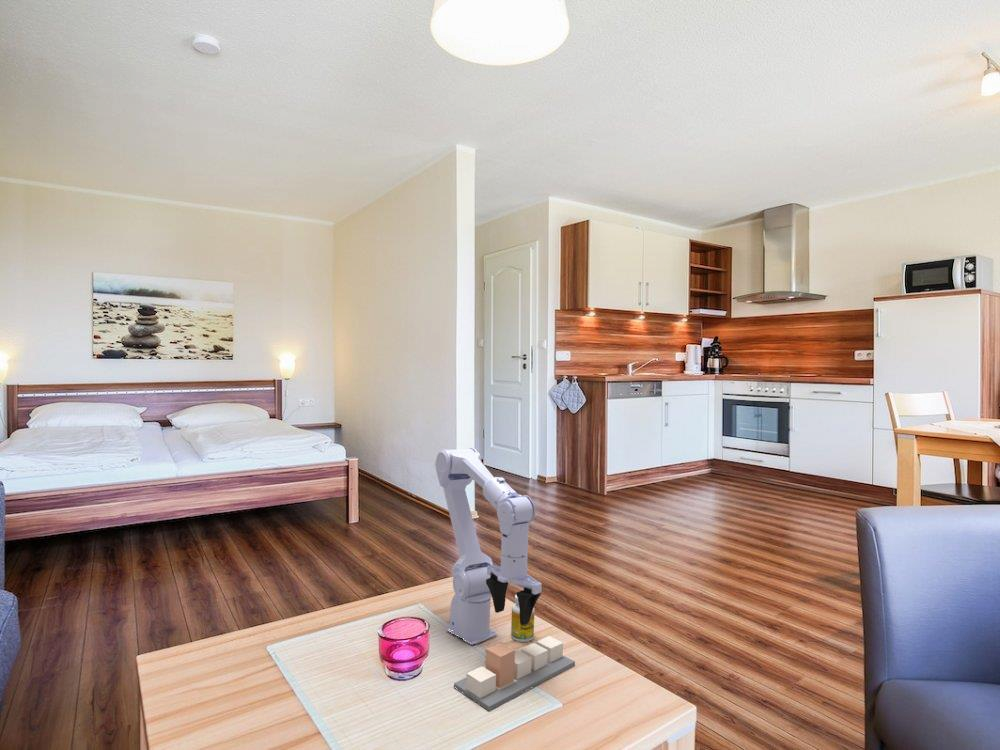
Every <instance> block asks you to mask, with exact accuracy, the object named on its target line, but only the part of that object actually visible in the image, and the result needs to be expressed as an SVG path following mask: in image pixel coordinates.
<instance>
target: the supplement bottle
mask: <svg viewBox="0 0 1000 750" xmlns="http://www.w3.org/2000/svg"><path fill="white" fill-rule="evenodd" d="M514 602H515V603H513V604H512V605H511V606H512V607H511V622H510V623H511V626H510V627H511V628H510V631H511V633H510V636H511V638H512V639H513V640H514V641H515V642H519V643H520V642H521V643H524V642H525V643H526V642H530V641H532V640H533V639H534V636H535V635H534V632H535V612H536V611H535V609H536V608H535V607H534V608H533V611H532V614H531V617H530V621H529V623H527V624H525V625H521V624H520V608H519V602H518V598H517V595H516V594H515V595H514Z"/></svg>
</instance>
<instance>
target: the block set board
mask: <svg viewBox="0 0 1000 750" xmlns="http://www.w3.org/2000/svg"><path fill="white" fill-rule="evenodd" d="M575 665H576V661H575V660H573V659H571V658H569V657H567V656H566V655H564V642H562V641H560V640H559V639H556V638H554V637H552V636H550V635H548V636H545V637H544V638H541V639H539V640H537V641H536V642H533V643H530V644H528V645H526V646H524V647H522V648H520V650H515V664H514V681H512V682H510V683H508V684H506V685H504V686H503V687H501V688H498V687H497V686H496V674H494V673H492V672H491V671H489V670H487V669H486V667H484V666H479V667H478V668H475V669H473V670H471V671H469V672H467V673H466V677H464V678H463V679H461V680H458V681H456V682H454V683H453V688H454V687H456V688H457V689H458V690H457V689H456V688H455V689H456V690H457V691H458V692H460V691H461V692H463V693H464V694H465V695H464V694H463V693H462V694H463V695H464V696H466V695H467V696H468V697H467V696H466V697H467V698H469V697H470V698H471V699H470V698H469V699H470V700H472V699H473V700H474V702H475V701H476V702H477V703H476V702H475V703H476V704H478V703H479V704H480V705H479V704H478V705H479V706H480V707H482V706H483V707H482V708H483V709H484V710H486V711H488V712H490V711H492V710H493V708H494V709H495V707H496V708H498V707H499V706H501V705H503V704H505V703H507V702H509V701H510V700H512V699H514V698H516V697H518V696H519V695H522V694H523V692H524V693H526V692H527V691H529V690H531V689H532V688H531V687H533V688H535V687H537V686H539V685H540V684H543V683H545V682H547V681H548V680H550V679H552V678H553V677H555V676H558V675H559V674H561V673H563V672H565V671H567V670H569V669H570V668H573V667H575ZM534 686H535V687H534ZM530 688H531V689H530ZM528 689H529V690H528ZM526 690H527V691H526ZM525 691H526V692H525ZM461 692H460V693H461ZM473 700H472V701H473Z"/></svg>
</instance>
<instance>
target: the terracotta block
mask: <svg viewBox="0 0 1000 750" xmlns="http://www.w3.org/2000/svg"><path fill="white" fill-rule="evenodd" d="M515 651H516V650H515V649H513V647H510V646H508V645H506V644H504V643H502V642H500V643H497V644H495V645H492V646H490V647H487V648H486V651H485V652H486V654H485V668H486V669H487V670H489V671H491V672H492V673H494V674H496V686H497V687H498V688H501V687H503V686H504V685H506V684H508V683H510V682H512V681H514V664H515Z"/></svg>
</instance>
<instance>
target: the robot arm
mask: <svg viewBox="0 0 1000 750" xmlns="http://www.w3.org/2000/svg"><path fill="white" fill-rule="evenodd" d="M435 459H436V460H435V463H434V466H435V470H436V476H437V479H438V483H439V486H440V487H442V488H443V492H444V496H445V500H446V501H445V502H446V505H447V509H448V513H449V517H450V522H451V526H452V531H453V534H454V535H453V536H454V539H455V543H456V547H457V551H458V555H459V558H458V559H457V561H456V562H455V563H454V564H453V566H452V568H451V572H452V588H453V592H454V595H453V596H452V599H451V600H450V611H449V627H448V628H446V631H447V630H449V629H450V630H449V631H451V630H453V631H451V632H452V633H454V634H456V635H458V636H459V637H461V638H464V640H466V641H468V642H469V643H471V644H475V645H477V644H479V643H481V642H484V641H487V640H489V639H491V638H493V637H496V636H498V632H496V631H495V630H492V629H490V628H491V627H490V626H491V624H490V623H491V622H490V621H491V602H492V603H493V607H494V612H495V613H496V614H498V613H501V612H503V611H504V610H505V608H506V607H505V606H506V597H507V595H506V593H507V589H508V585H509V584H513V585H515V586H517V587H520V588H522V589H523V590H520V591H516V593H515V595H517V598H518V602H519V608H520V624H521V625H525V624H527V623H529V621H530V617H531V614H532V611H533V608H534V609H535V605H536V603H537V602H538V599H539V598H540V597H541V596H542V588H543V587H542V582H540V581H538V580H537V579H535V578H534V577H533V576H531V575H530V574H529V573H528V557H529V556H528V555H529V535H530V534H529V533H530V532H529V528H530V523H532V522H533V521H534V519H535V516H536V506H535V503H534V502H533V500H532V499H531V497H530V495H525V494H524V495H521V494H519V493H518V492H516V491H515V489H513V488H512V487H511V486H510V484H508V483H507V482H506V479H505V478H504V477H501V476H500V477H499V476H494V475H493V474H492V473H491V472H490V471H489V470H488V468H487V467H486V466H485V465H484V463H483V461H482V456H481V454H480V452H479V451H477V449H476V448H475V447H469V448H458V449H456V448H455V449H440V450H439V452H438V453H437V455H436V458H435ZM473 481H474V482H476V483H477V484H478V485H479V486H480V487H481V488H482V495H483V497H484V498H485V499H486V500H487V502H489V504H491V506H492V507H493V508H494V509H495V510H496V515H497V519H498V523H499V532H500V533H501V547H500V549H501V550H500V565H497V564H494V563H493V559H492V558H491V557H490V556H489V555H488V554H486V553H484V552H482V550H481V546H480V543H479V539H478V535H477V532H476V527H475V523H474V519H473V516H472V512H471V507H470V504H469V499H468V496H467V493H466V488H467V486H468V485H470V484H471V483H472V482H473ZM491 598H492V599H491ZM491 600H492V601H491ZM452 633H451V634H452ZM459 637H458V638H459ZM464 640H463V641H464ZM466 641H465V642H466ZM469 643H468V644H469ZM471 644H470V645H471Z"/></svg>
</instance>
